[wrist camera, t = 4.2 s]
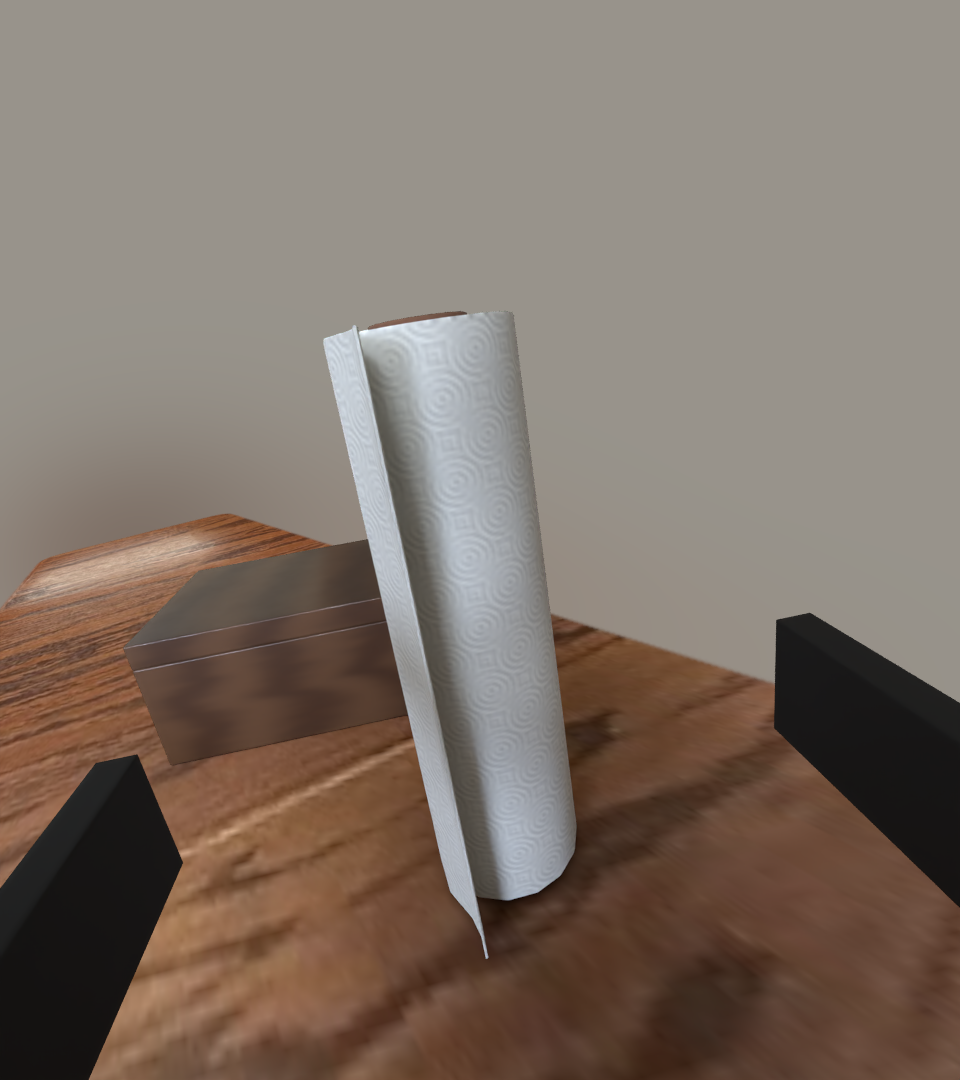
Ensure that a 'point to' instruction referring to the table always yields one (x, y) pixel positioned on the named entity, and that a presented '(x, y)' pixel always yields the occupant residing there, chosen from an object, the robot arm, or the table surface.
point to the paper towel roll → (463, 588)
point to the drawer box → (268, 654)
